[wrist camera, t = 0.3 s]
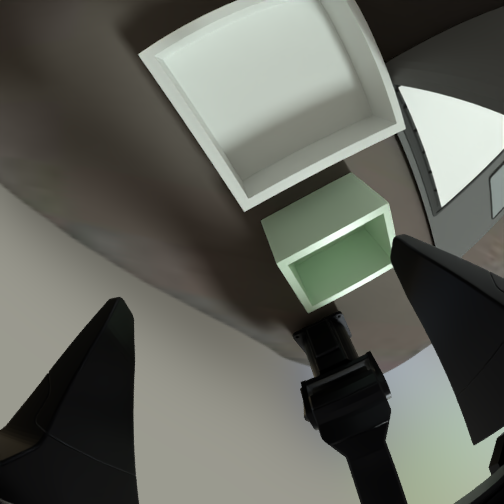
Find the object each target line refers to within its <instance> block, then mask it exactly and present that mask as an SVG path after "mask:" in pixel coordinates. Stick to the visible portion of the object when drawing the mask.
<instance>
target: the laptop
mask: <svg viewBox="0 0 504 504" xmlns="http://www.w3.org/2000/svg"><path fill="white" fill-rule="evenodd" d="M385 65H386V68H387V71H388V73H389V76H390V79H391V82H392V85H393V87H394V90H395V93H396V96H397V100H398V103H399V106H400V109H401V113H402V116H403V120H404V124H405V127H406V129H405V130H402V131H400V132H398V133H397V135H398V137H399V139H400V141H401V144H402V146H403V148H404V151H405V153H406V156H407V158H408V161H409V163H410V166H411V168H412V171H413V174H414V176H415V179H416V182H417V185H418V188H419V191H420V194H421V197H422V200H423V203H424V206H425V210H426V213H427V216H428V220H429V223H430V227H431V231H432V235H433V239H434V243H435V247H437V248H439V249H442V250H444V251H446V252H449V253H451V254H453V255H455V256H458V257H460V258H461V257H462V256H463V255H464V254H465V253H466V252H467V251H468V250H469V249H470V248H471V247H472V246H473V245H474V244H476V243H477V242H478V241H479V240H480V239H481V238H482V237H483V236H484V235H485V234H486V233H487V232H488V231H489V230H490V229H491V228H492V227H493V225H494V224H495V223H496V222H497V221H498V220H499V219H500V218H501V217H502V216H503V215H504V6H503V7H500V8H497V9H495V10H492V11H489V12H487V13H484V14H482V15H479V16H477V17H475V18H472V19H470V20H468V21H465V22H463V23H461V24H459V25H456V26H454V27H452V28H450V29H448V30H446V31H444V32H442V33H440V34H438V35H436V36H434V37H432V38H430V39H428V40H426V41H424V42H422V43H420V44H418V45H417V46H415V47H413V48H411V49H409V50H407V51H406V52H404V53H402V54H400V55H399V56H397V57H395V58H393V59H392V60H390V61H388V62H387V63H386V64H385Z"/></svg>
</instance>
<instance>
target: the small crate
mask: <svg viewBox="0 0 504 504" xmlns="http://www.w3.org/2000/svg"><path fill="white" fill-rule="evenodd" d="M261 223H262V226H263V229H264V231H265V234H266V237H267V239H268V242H269V245H270V248H271V250H272V253H273V256H274V258H275V261H276V264H277V265H278V267H279V268H280V270H281V272H282V273H283V275H284V276H285V278H286V279H287V281H288V282H289V284H290V286H291V287H292V289H293V290H294V292H295V293H296V295H297V297H298V298H299V300H300V301H301V303H302V304H303V306H304V308H305V309H306V311H307V312H308V313H310V312H312V311H314V310H316V309H318V308H320V307H322V306H324V305H326V304H328V303H330V302H332V301H334V300H336V299H337V298H339V297H341V296H343V295H345V294H347V293H349V292H350V291H352V290H354V289H356V288H358V287H360V286H361V285H363V284H365V283H367V282H369V281H370V280H372V279H374V278H376V277H377V276H379V275H381V274H382V273H384V272H386V271H388V270H389V269H391V268H393V266H392V264H391V260H390V254H391V248H392V242H393V238H394V237H395V231H394V226H393V221H392V216H391V211H390V207H389V203H388V202H387V201H386V200H385V199H384V198H382V197H381V196H380V195H379V194H378V193H376V192H375V191H374V190H373V189H372V188H370V187H369V186H368V185H367V184H365V183H364V182H363V181H362V180H360V179H359V178H358V177H356V176H355V175H354V174H353V173H349V174H347V175H345V176H343V177H341V178H339V179H337V180H335V181H333V182H331V183H329V184H328V185H326V186H324V187H322V188H320V189H318V190H316V191H314V192H312V193H311V194H309V195H307V196H305V197H303V198H301V199H299V200H297V201H296V202H294V203H292V204H290V205H288V206H286V207H284V208H283V209H281V210H279V211H277V212H275V213H273V214H272V215H270V216H268V217H266V218H264V219H262V220H261Z"/></svg>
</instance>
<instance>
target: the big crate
mask: <svg viewBox="0 0 504 504" xmlns="http://www.w3.org/2000/svg"><path fill="white" fill-rule="evenodd" d="M138 55H139V57H140V58H141V60H142V61H143V62H144V64H145V65H146V67H147V68H148V70H149V71H150V72H151V74H152V75H153V77H154V78H155V80H156V81H157V83H158V84H159V85H160V87H161V88H162V90H163V91H164V93H165V94H166V96H167V97H168V98H169V100H170V101H171V103H172V104H173V106H174V107H175V109H176V110H177V112H178V113H179V115H180V116H181V118H182V119H183V120H184V122H185V123H186V125H187V126H188V128H189V129H190V131H191V132H192V134H193V135H194V137H195V138H196V140H197V141H198V143H199V144H200V146H201V147H202V149H203V150H204V152H205V153H206V155H207V156H208V158H209V159H210V161H211V162H212V164H213V165H214V167H215V168H216V170H217V171H218V173H219V174H220V176H221V177H222V179H223V180H224V182H225V183H226V185H227V186H228V188H229V189H230V191H231V192H232V194H233V195H234V197H235V198H236V200H237V201H238V203H239V205H240V206H241V208H242V209H243V211H244V212H245V211H247V210H249V209H251V208H252V207H254V206H256V205H258V204H260V203H261V202H263V201H265V200H267V199H269V198H271V197H272V196H274V195H276V194H278V193H280V192H282V191H283V190H285V189H287V188H289V187H291V186H293V185H295V184H297V183H298V182H300V181H302V180H304V179H306V178H308V177H310V176H312V175H314V174H316V173H317V172H319V171H321V170H323V169H325V168H327V167H329V166H331V165H333V164H335V163H337V162H339V161H341V160H343V159H345V158H347V157H349V156H351V155H353V154H355V153H357V152H359V151H361V150H363V149H365V148H367V147H369V146H371V145H373V144H375V143H377V142H379V141H381V140H383V139H386V138H388V137H390V136H392V135H394V134H396V133H398V132H400V131H402V130H405V129H406V127H405V124H404V120H403V116H402V113H401V109H400V106H399V103H398V100H397V96H396V93H395V90H394V87H393V85H392V82H391V79H390V76H389V73H388V71H387V68H386V65H385V63H384V60H383V58H382V55H381V53H380V51H379V48H378V46H377V44H376V41H375V39H374V37H373V35H372V33H371V30H370V28H369V26H368V24H367V22H366V20H365V18H364V16H363V14H362V12H361V10H360V9H359V7H358V5H357V3H356V1H355V0H237V1H234V2H232V3H230V4H227V5H225V6H223V7H220V8H218V9H216V10H214V11H212V12H210V13H208V14H206V15H204V16H202V17H200V18H198V19H196V20H194V21H192V22H190V23H188V24H186V25H184V26H183V27H181V28H179V29H177V30H176V31H174V32H172V33H170V34H169V35H167V36H165V37H164V38H162V39H161V40H159V41H157V42H156V43H154V44H153V45H151V46H150V47H148V48H147V49H145V50H144V51H142V52H141V53H139V54H138Z"/></svg>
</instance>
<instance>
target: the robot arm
mask: <svg viewBox="0 0 504 504" xmlns="http://www.w3.org/2000/svg"><path fill="white" fill-rule="evenodd" d="M390 260H391V264H392V266H393V268H394V270H395V272H396V274H397V276H398V278H399V280H400V283H401V285H402V287H403V289H404V291H405V293H406V296H407V298H408V300H409V301H410V303H411V305H412V307H413V309H414V310H415V312H416V314H417V316H418V318H419V320H420V321H421V323H422V325H423V327H424V329H425V331H426V333H427V335H428V337H429V339H430V341H431V343H432V345H433V347H434V348H435V351H436V353H437V355H438V357H439V359H440V361H441V363H442V366H443V368H444V370H445V372H446V374H447V376H448V379H449V381H450V383H451V386H452V388H453V391H454V393H455V395H456V398H457V401H458V403H459V406H460V409H461V411H462V414H463V417H464V419H465V422H466V425H467V428H468V431H469V434H470V437H471V440H472V443H473V445H475V444H477V443H479V442H481V441H482V440H484V439H485V438H487V437H489V436H490V435H492V434H493V433H495V432H496V431H498V430H499V429H501V428H502V427H504V278H502V277H500V276H498V275H496V274H494V273H492V272H489V271H488V270H485V269H483V268H481V267H479V266H477V265H475V264H473V263H471V262H469V261H466V260H464V259H462V258H460V257H458V256H455V255H453V254H451V253H449V252H446V251H444V250H442V249H439V248H437V247H435V246H432V245H430V244H428V243H425V242H423V241H420V240H418V239H416V238H413V237H411V236H408V235H405V234H402V235H398V236H395V237H394V238H393V242H392V248H391V254H390ZM351 336H352V335H351V333H350V330H349V328H348V326H347V323H346V321H345V319H344V317H343V314H342V312H340V311H338V312H336V313H334V314H332V315H330V316H328V317H326V318H324V319H322V320H320V321H318V322H316V323H314V324H312V325H310V326H308V327H306V328H304V329H302V330H300V331H298V332H295V333H294V334H293V338H294V340H295V341H296V342H297V343H298V345H299V346H300V347H301V348H302V349H303V351H304V352H305V353H306V355H307V357H308V360H309V363H310V366H311V369H312V372H313V375H314V378H312V379H309V380H307V381H302V382H301V386H302V388H301V389H300V390H301V394H302V398H303V403H304V418H305V420H306V421H308V422H310V423H311V424H312V426H313V428H314V429H315V430H318V429H319V431H320V435H321V437H322V439H323V440H324V441H325V442H326V443H327V444H328V445H330V446H331V447H333V448H334V449H335V450H337V451H338V452H339V453H341V454H342V455H343V456H345V457H346V459H347V462H348V465H349V468H350V471H351V474H352V477H353V480H354V483H355V487H356V489H357V493H358V496H359V499H360V502H361V504H407V501H406V498H405V495H404V492H403V489H402V486H401V483H400V480H399V477H398V474H397V471H396V468H395V465H394V463H393V460H392V457H391V454H390V452H389V449H388V447H387V444H386V441H385V440H386V435H387V430H388V425H389V420H390V414H391V408H390V406H389V403H388V401H387V400H388V399H390V398H391V393H390V390H389V387H388V384H387V382H386V380H385V378H384V376H383V373H382V372H381V370H380V368H379V366H378V364H377V363H376V361H375V359H374V357H373V355H372V353H371V352H370V351H369V352H367V353H366V354H365V355H363V356H361V357H358V354H357V352H356V350H355V348H354V346H353V344H352V342H351V339H350V338H351ZM134 373H135V345H134V318H133V315H132V313H131V311H130V310H129V308H128V307H127V305H126V303H125V301H124V300H123V299H122V298H121V297H116V298H112V299H109V300H108V301H107V302H106V304H105V305H104V306H103V307H102V308H101V309H100V310H99V311H98V313H97V314H96V315H95V316H94V317H93V318H92V319H91V321H90V322H89V323H88V324H87V325H86V326H85V328H84V329H83V330H82V331H81V332H80V333H79V335H78V336H77V337H76V338H75V340H74V341H73V342H72V343H71V344H70V346H69V347H68V348H67V349H66V351H65V352H64V353H63V354H62V356H61V357H60V358H59V359H58V361H57V362H56V363H55V364H54V366H53V367H52V368H51V370H50V371H49V373H48V374H47V375H46V376H45V377H44V379H43V380H42V382H41V383H40V384H39V385H38V387H37V388H36V389H35V391H34V392H33V393H32V394H31V395H30V397H29V398H28V399H27V401H26V402H25V403H24V404H23V405H22V406H21V408H20V409H19V410H18V411H17V413H16V414H15V415H14V416H13V418H12V419H11V420H10V421H9V423H8V424H7V425H6V426H5V427H4V428H3V429H1V430H0V504H139V500H138V491H137V480H136V476H135V475H136V471H135V455H134V422H133V408H134V406H133V405H134ZM489 470H490V472H491V476H490V477H489V478H488V479H486V480H485V481H484V482H483V483H481V484H480V485H479V486H478V487H476V488H475V489H474V490H472V491H471V492H470V493H468V494H467V495H466V496H464V497H463V498H461V499H460V500H458V501H457V502H455V503H454V504H504V432H503V433H502V434H501V435H500V436H499V437H498V438H497V440H496V444H495V448H494V452H493V455H492V458H491V461H490V465H489Z"/></svg>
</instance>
